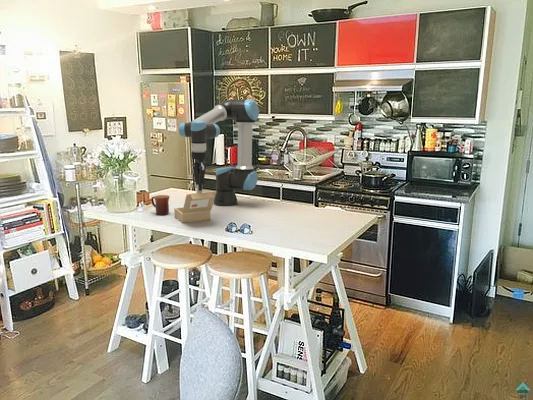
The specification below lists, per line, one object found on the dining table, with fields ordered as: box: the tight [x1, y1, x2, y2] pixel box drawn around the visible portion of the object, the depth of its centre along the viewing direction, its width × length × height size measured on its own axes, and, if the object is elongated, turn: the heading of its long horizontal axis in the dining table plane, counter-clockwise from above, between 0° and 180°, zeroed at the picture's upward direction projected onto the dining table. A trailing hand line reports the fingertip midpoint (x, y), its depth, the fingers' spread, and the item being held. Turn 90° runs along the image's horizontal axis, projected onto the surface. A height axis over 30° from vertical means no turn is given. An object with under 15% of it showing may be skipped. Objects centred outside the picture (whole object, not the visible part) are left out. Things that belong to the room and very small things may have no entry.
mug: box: [150, 194, 171, 216], centre depth 258 cm, size 12×9×10 cm
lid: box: [182, 191, 216, 214], centre depth 237 cm, size 16×14×4 cm
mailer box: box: [174, 206, 212, 224], centre depth 249 cm, size 16×14×5 cm
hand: (199, 196), depth 236 cm, fingers closed
